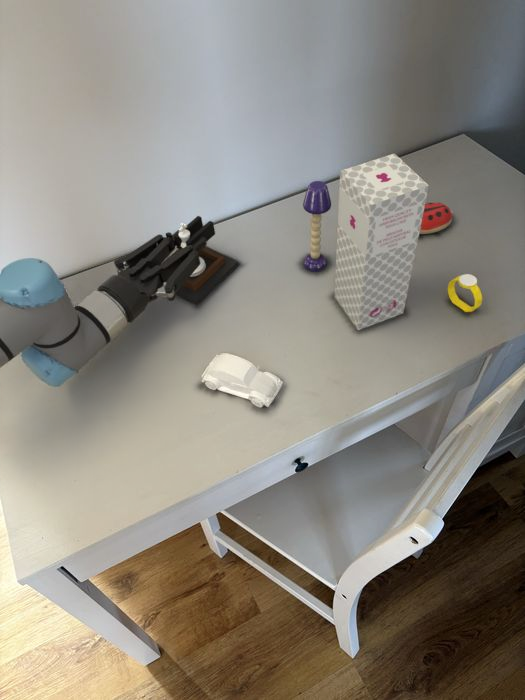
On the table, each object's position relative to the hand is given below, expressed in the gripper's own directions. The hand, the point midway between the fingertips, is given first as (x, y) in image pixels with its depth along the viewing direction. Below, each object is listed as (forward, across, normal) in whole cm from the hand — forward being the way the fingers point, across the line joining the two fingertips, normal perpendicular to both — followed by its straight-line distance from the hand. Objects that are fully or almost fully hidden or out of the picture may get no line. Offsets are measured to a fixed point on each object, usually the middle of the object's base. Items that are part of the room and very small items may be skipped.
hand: (206, 225), depth 96 cm
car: (-20, +23, -8) cm, 32 cm away
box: (+4, +31, -8) cm, 32 cm away
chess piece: (-6, 0, -6) cm, 8 cm away
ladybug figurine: (+28, +30, -8) cm, 42 cm away
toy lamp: (+8, +18, -8) cm, 21 cm away
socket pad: (-6, 0, -7) cm, 9 cm away
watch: (+12, +44, -8) cm, 46 cm away
